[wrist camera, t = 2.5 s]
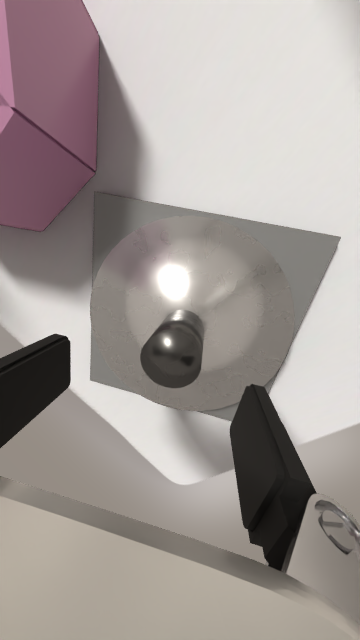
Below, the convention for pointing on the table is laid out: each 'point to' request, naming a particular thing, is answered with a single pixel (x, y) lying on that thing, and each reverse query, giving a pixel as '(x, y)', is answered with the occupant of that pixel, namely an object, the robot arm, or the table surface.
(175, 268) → the lid
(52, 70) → the pink octagonal dish
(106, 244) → the mat
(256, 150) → the table surface
